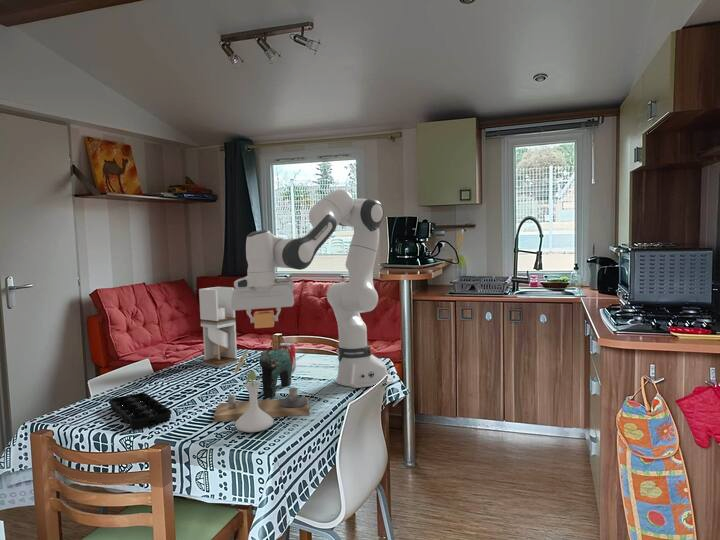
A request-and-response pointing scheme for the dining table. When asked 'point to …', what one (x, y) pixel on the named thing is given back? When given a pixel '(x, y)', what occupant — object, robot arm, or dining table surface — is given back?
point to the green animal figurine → (275, 369)
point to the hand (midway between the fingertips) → (264, 321)
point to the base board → (264, 407)
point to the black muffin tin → (140, 410)
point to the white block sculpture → (218, 326)
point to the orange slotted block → (264, 319)
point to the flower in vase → (252, 405)
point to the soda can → (290, 352)
